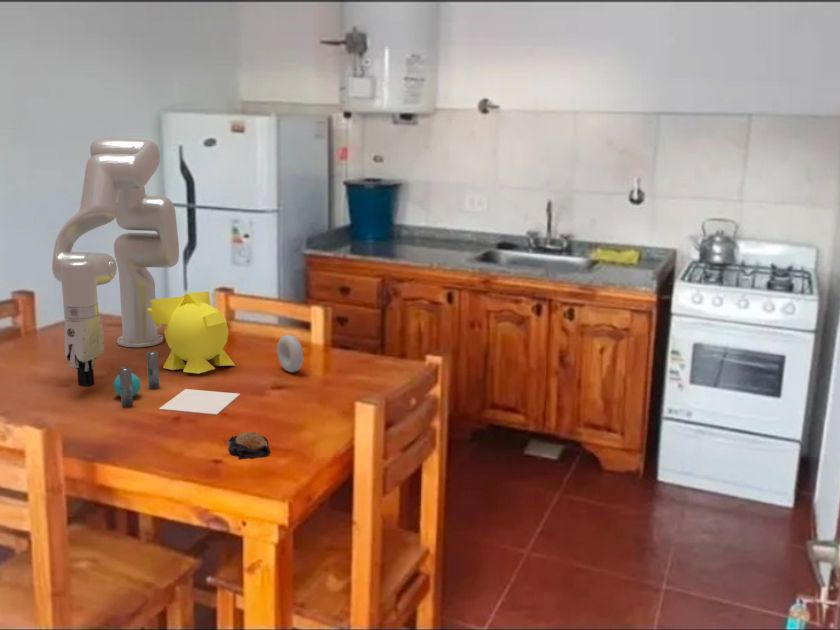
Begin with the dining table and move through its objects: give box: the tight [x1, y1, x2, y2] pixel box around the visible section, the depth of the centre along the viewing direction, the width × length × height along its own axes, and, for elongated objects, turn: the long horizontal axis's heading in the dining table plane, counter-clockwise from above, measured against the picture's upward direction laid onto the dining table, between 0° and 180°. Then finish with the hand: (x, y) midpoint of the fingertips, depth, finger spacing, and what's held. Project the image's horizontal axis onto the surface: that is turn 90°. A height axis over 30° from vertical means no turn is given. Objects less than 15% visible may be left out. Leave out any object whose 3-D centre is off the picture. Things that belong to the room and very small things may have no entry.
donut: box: [276, 334, 304, 373], centre depth 225 cm, size 10×4×10 cm, turn 40°
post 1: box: [118, 366, 134, 409], centre depth 197 cm, size 3×3×9 cm
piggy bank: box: [147, 291, 236, 375], centre depth 226 cm, size 20×20×19 cm
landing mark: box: [158, 388, 241, 416], centre depth 202 cm, size 14×14×1 cm
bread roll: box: [226, 431, 271, 461], centre depth 176 cm, size 11×8×4 cm
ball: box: [113, 372, 141, 397], centre depth 203 cm, size 6×6×6 cm
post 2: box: [146, 350, 161, 390], centre depth 210 cm, size 3×3×9 cm
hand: (86, 385), depth 206 cm, fingers closed
